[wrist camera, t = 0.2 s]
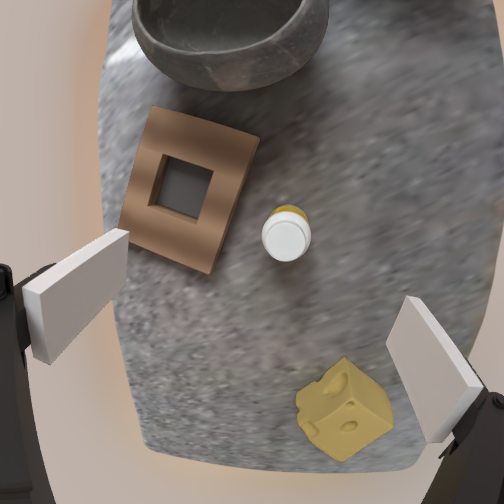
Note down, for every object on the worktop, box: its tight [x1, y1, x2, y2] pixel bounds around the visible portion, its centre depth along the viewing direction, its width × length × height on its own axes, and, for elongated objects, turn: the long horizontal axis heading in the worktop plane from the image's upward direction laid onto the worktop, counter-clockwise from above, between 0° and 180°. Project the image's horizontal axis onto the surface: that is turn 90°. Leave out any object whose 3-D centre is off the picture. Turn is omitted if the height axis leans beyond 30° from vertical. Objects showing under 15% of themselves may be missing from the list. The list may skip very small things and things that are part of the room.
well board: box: [118, 105, 260, 275], centre depth 40 cm, size 18×14×3 cm
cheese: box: [295, 357, 394, 462], centre depth 42 cm, size 10×11×10 cm
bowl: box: [132, 0, 329, 91], centre depth 28 cm, size 20×20×15 cm
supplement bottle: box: [262, 205, 311, 262], centre depth 37 cm, size 5×5×10 cm
